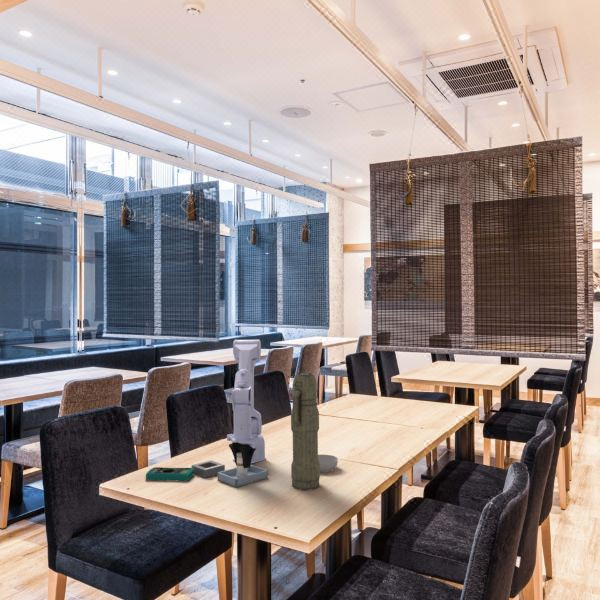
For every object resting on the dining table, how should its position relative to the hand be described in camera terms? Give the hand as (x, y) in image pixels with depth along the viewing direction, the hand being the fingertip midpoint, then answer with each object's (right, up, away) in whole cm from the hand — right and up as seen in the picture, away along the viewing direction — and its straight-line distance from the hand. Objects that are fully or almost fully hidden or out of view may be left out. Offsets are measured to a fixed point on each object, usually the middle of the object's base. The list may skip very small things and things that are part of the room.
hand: (242, 466), depth 177 cm
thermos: (+20, -4, -7) cm, 22 cm away
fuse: (0, -3, 0) cm, 3 cm away
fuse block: (-13, -4, +7) cm, 15 cm away
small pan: (+24, -4, +13) cm, 27 cm away
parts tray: (0, -4, 0) cm, 4 cm away
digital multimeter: (-24, -5, +3) cm, 25 cm away
